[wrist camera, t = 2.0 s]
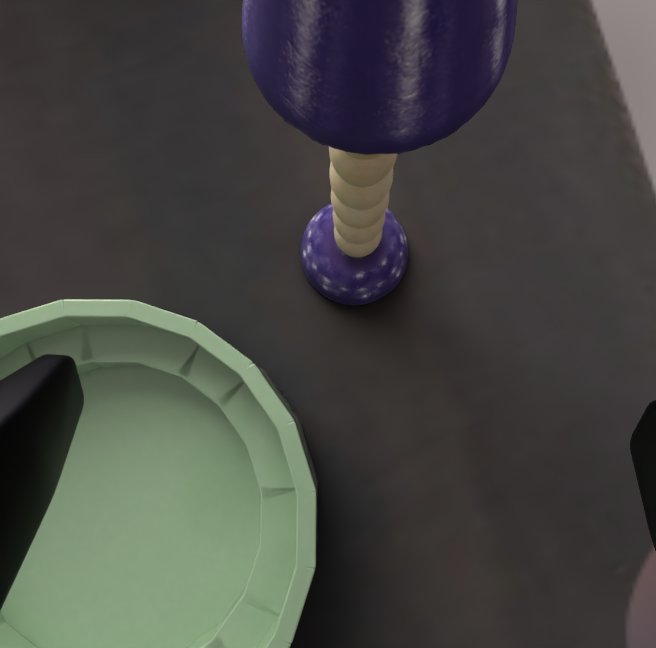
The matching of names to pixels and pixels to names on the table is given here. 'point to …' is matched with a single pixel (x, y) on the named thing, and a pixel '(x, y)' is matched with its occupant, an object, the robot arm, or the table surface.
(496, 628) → the table surface
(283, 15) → the toy lamp
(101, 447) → the bowl
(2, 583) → the robot arm
